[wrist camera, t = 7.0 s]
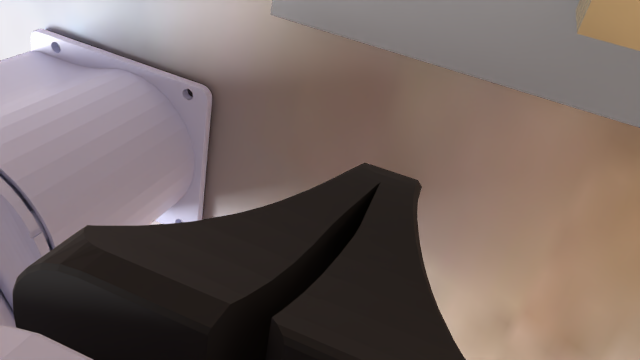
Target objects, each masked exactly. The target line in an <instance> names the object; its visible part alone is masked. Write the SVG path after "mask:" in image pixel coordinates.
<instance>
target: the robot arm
mask: <svg viewBox="0 0 640 360" xmlns="http://www.w3.org/2000/svg"><path fill="white" fill-rule="evenodd" d="M58 44H59V46H60V48H61V50H60V48H59V46H58ZM31 47H32V51H29V52H26V53H23V54H20V55H16V56H13V57H10V58H7V59H4V60H0V360H466V359H465V358H464V357H463V355H462V353H461V352H460V350H459V348H458V347H457V345H456V343H455V341H454V340H453V338H452V336H451V334H450V331H449V329H448V327H447V325H446V323H445V321H444V319H443V317H442V315H441V313H440V311H439V309H438V306H437V303H436V301H435V298H434V295H433V293H432V290H431V287H430V284H429V281H428V278H427V274H426V270H425V267H424V262H423V258H422V253H421V247H420V241H419V233H418V222H417V202H418V198H419V194H420V191H421V188H422V186H421V185H420V183H419V181H418V180H415V179H412V178H409V177H406V176H403V175H400V174H397V173H394V172H391V171H388V170H385V169H382V168H379V167H376V166H373V165H370V164H367V163H364V164H361V165H359V166H357V167H355V168H353V169H351V170H349V171H347V172H345V173H343V174H341V175H339V176H337V177H335V178H333V179H331V180H329V181H327V182H325V183H323V184H320V185H318V186H316V187H314V188H312V189H310V190H307V191H305V192H302V193H300V194H297V195H295V196H292V197H290V198H287V199H284V200H282V201H279V202H276V203H273V204H270V205H267V206H264V207H260V208H257V209H253V210H249V211H245V212H241V213H237V214H232V215H227V216H221V217H215V218H210V219H204V220H202V212H203V201H204V189H205V178H206V166H207V154H208V143H209V131H210V119H211V108H212V94H211V92H210V90H209V89H208V88H207V87H206V86H204V85H202V84H199V83H197V82H194V81H191V80H188V79H185V78H182V77H179V76H176V75H174V74H171V73H168V72H165V71H162V70H159V69H156V68H153V67H151V66H148V65H145V64H142V63H139V62H136V61H133V60H131V59H128V58H125V57H122V56H119V55H116V54H113V53H110V52H108V51H105V50H102V49H99V48H96V47H93V46H90V45H87V44H85V43H82V42H79V41H76V40H73V39H70V38H67V37H65V36H62V35H59V34H56V33H53V32H50V31H47V30H44V29H38V30H35V31H33V32H32V33H31ZM188 89H189V90H191V92H192V93H193V97H191V96H190V95H189V93H188ZM181 220H182V221H183V222H181ZM154 221H157V222H160V223H162V224H158V225H150V224H151V223H152V222H154Z"/></svg>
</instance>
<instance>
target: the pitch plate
mask: <svg viewBox="0 0 640 360" xmlns="http://www.w3.org/2000/svg"><path fill="white" fill-rule="evenodd" d="M579 1H580V0H272V8H271V15H273V16H276V17H279V18H283V19H286V20H289V21H292V22H296V23H299V24H302V25H305V26H309V27H312V28H315V29H319V30H322V31H325V32H328V33H332V34H335V35H338V36H341V37H345V38H348V39H351V40H355V41H358V42H361V43H364V44H368V45H371V46H374V47H377V48H381V49H384V50H387V51H390V52H394V53H397V54H400V55H404V56H407V57H410V58H413V59H417V60H420V61H423V62H426V63H430V64H433V65H436V66H439V67H443V68H446V69H449V70H453V71H456V72H459V73H462V74H466V75H469V76H472V77H475V78H479V79H482V80H485V81H488V82H492V83H495V84H498V85H502V86H505V87H508V88H511V89H515V90H518V91H521V92H524V93H528V94H531V95H534V96H537V97H541V98H544V99H547V100H551V101H554V102H557V103H560V104H564V105H567V106H570V107H573V108H577V109H580V110H583V111H587V112H590V113H593V114H596V115H600V116H603V117H606V118H609V119H613V120H616V121H619V122H622V123H626V124H629V125H632V126H636V127H639V128H640V51H638V50H634V49H631V48H627V47H623V46H620V45H616V44H612V43H609V42H605V41H602V40H598V39H594V38H591V37H587V36H583V35H580V34H577V23H576V8H577V6H578V4H579Z"/></svg>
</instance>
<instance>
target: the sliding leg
mask: <svg viewBox="0 0 640 360" xmlns="http://www.w3.org/2000/svg"><path fill="white" fill-rule="evenodd" d="M576 23H577V34H580V35H583V36H587V37H591V38H594V39H598V40H602V41H605V42H609V43H612V44H616V45H620V46H623V47H627V48H631V49H634V50H638V51H640V0H580V1H579V4H578V6H577V8H576Z"/></svg>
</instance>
